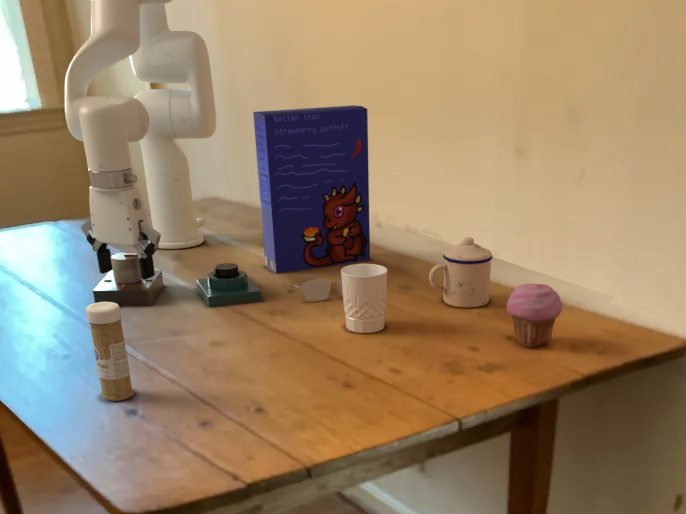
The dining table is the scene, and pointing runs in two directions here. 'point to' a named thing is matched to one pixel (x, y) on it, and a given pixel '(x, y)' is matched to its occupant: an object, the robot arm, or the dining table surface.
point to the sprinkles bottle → (110, 350)
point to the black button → (226, 270)
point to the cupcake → (534, 313)
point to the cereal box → (313, 186)
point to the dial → (126, 268)
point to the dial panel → (129, 291)
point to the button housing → (228, 290)
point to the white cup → (364, 297)
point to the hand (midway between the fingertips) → (127, 274)
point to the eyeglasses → (318, 289)
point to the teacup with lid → (465, 275)
